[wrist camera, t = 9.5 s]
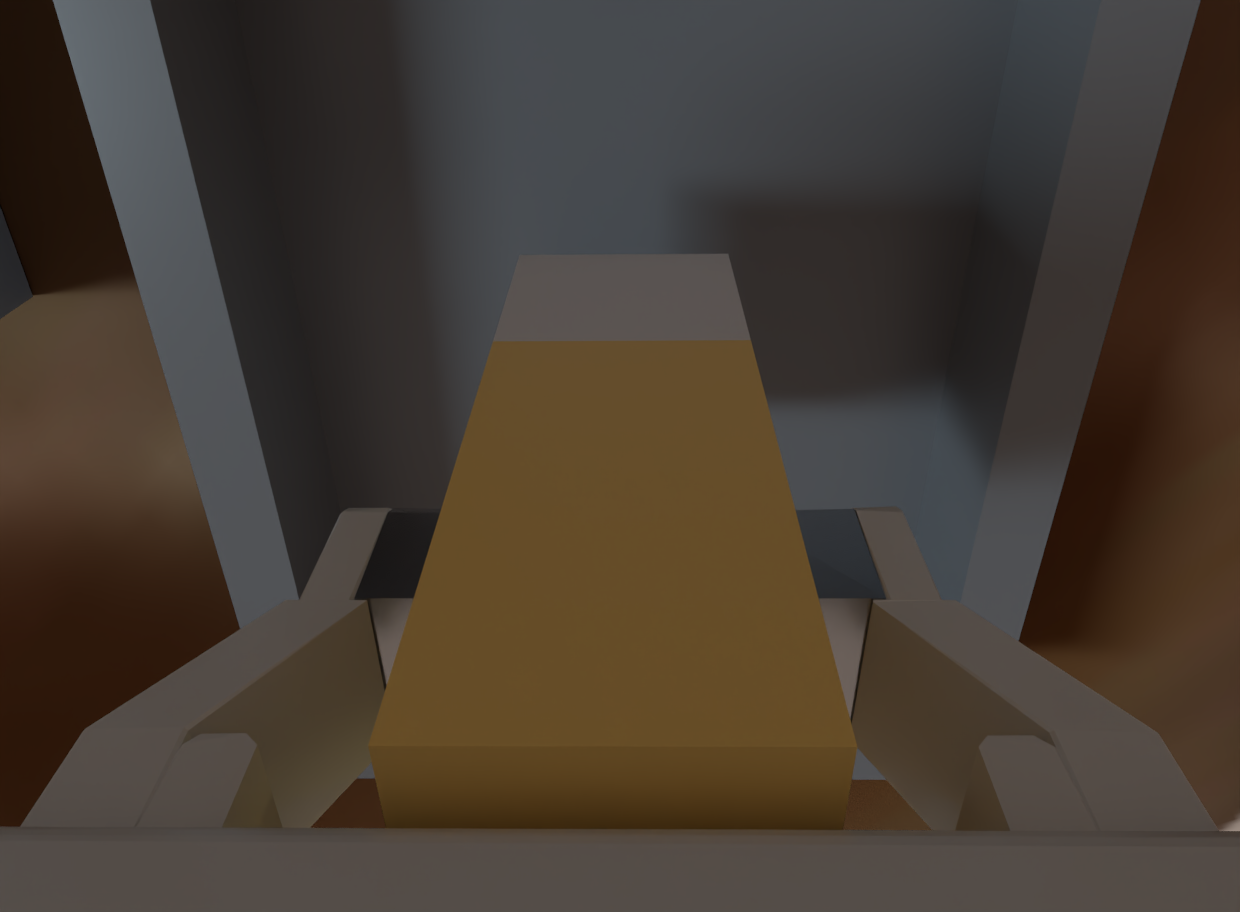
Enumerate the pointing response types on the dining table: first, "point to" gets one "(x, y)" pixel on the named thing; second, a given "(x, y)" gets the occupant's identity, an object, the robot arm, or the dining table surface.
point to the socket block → (10, 273)
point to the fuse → (617, 580)
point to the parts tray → (631, 234)
